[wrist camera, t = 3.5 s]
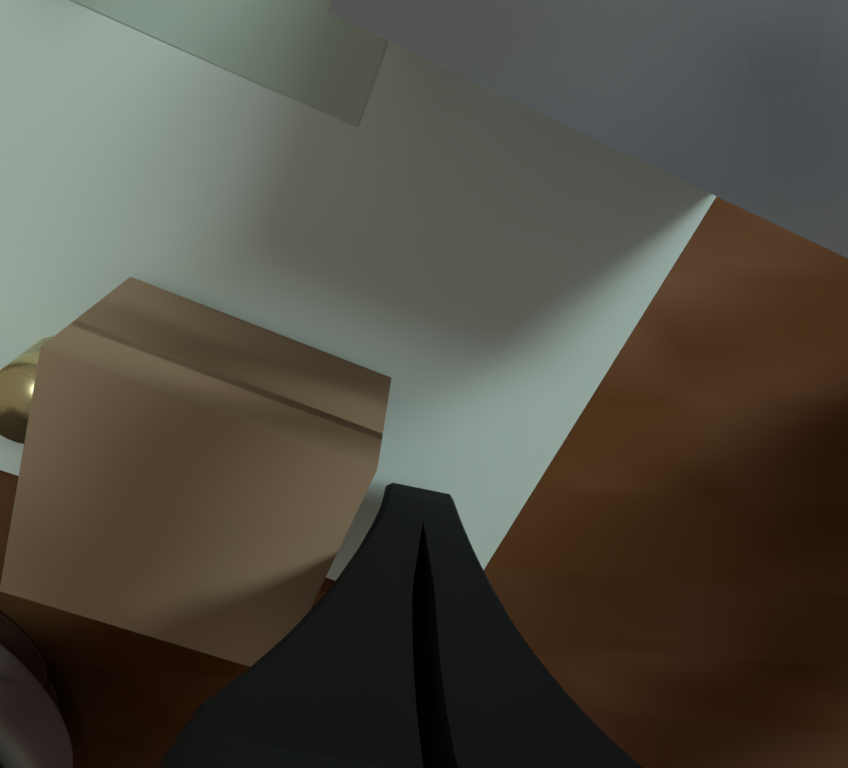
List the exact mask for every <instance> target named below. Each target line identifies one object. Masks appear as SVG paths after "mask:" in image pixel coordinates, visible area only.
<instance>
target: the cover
mask: <svg viewBox="0 0 848 768" xmlns="http://www.w3.org/2000/svg"><path fill="white" fill-rule="evenodd" d="M390 384H391V377H389V376H386V375H383V374H381V373H378V372H376V371H373V370H370V369H368V368H365V367H363V366H360V365H358V364H355V363H352V362H350V361H347V360H345V359H342V358H339V357H337V356H334V355H332V354H329V353H327V352H324V351H321V350H319V349H316V348H314V347H311V346H308V345H306V344H303V343H301V342H298V341H296V340H293V339H290V338H288V337H285V336H283V335H280V334H277V333H275V332H272V331H270V330H267V329H265V328H262V327H259V326H257V325H254V324H252V323H249V322H246V321H244V320H241V319H239V318H236V317H234V316H231V315H228V314H226V313H223V312H221V311H218V310H215V309H213V308H210V307H208V306H205V305H203V304H200V303H197V302H195V301H192V300H190V299H187V298H184V297H182V296H179V295H177V294H174V293H172V292H169V291H166V290H164V289H161V288H159V287H156V286H153V285H151V284H148V283H146V282H143V281H141V280H138V279H135V278H133V277H129V278H128V279H127V280H125V281H124V282H123V283H122V284H120V285H119V286H118V287H116V288H115V289H114V290H113V291H111V292H110V293H109V294H107V295H106V296H105V297H104V298H102V299H101V300H100V301H99V302H97V303H96V304H95V305H93V306H92V307H91V308H90V309H88V310H87V311H86V312H84V313H83V314H82V315H81V316H79V317H78V318H77V319H76V320H74V321H73V322H72V323H70V324H69V325H68V326H67V327H65V328H64V329H63V330H61V331H60V332H59V333H58V334H56V335H55V336H54V337H53V338H51V339H50V340H49V341H47V342H46V343H45V344H44V345H42V346H41V347H40V353H39V359H38V365H37V371H36V377H35V383H34V389H33V395H32V401H31V406H30V412H29V418H28V424H27V430H26V436H25V442H24V448H23V454H22V460H21V466H20V472H19V477H18V483H17V489H16V495H15V501H14V507H13V513H12V519H11V525H10V531H9V537H8V542H7V548H6V554H5V560H4V566H3V572H2V578H1V584H0V591H1V592H4V593H7V594H11V595H14V596H17V597H21V598H24V599H27V600H31V601H34V602H37V603H40V604H44V605H47V606H50V607H54V608H57V609H60V610H64V611H67V612H70V613H74V614H77V615H80V616H83V617H87V618H90V619H93V620H97V621H100V622H103V623H107V624H110V625H113V626H116V627H120V628H123V629H126V630H130V631H133V632H136V633H140V634H143V635H146V636H150V637H153V638H156V639H159V640H163V641H166V642H169V643H173V644H176V645H179V646H183V647H186V648H189V649H193V650H196V651H199V652H202V653H206V654H209V655H212V656H216V657H219V658H222V659H226V660H229V661H232V662H236V663H239V664H242V665H245V666H249V667H251V666H252V665H253V664H255V663H256V662H257V661H258V660H259V659H260V658H261V657H263V656H264V655H265V654H266V653H267V652H268V651H269V650H271V649H272V648H273V647H274V646H275V645H276V644H277V643H279V642H280V641H281V640H282V639H283V638H284V637H285V636H286V635H287V634H288V633H289V632H290V631H291V630H292V629H293V628H294V627H295V626H296V625H297V624H298V623H299V622H300V621H301V620H302V619H303V618H304V617H305V616H306V615H307V613H308V612H309V611H310V609H311V607H312V605H313V603H314V601H315V599H316V597H317V594H318V592H319V590H320V588H321V586H322V584H323V582H324V580H325V578H326V576H327V574H328V571H329V569H330V567H331V565H332V563H333V561H334V559H335V557H336V555H337V553H338V550H339V548H340V546H341V544H342V542H343V540H344V538H345V536H346V534H347V532H348V530H349V527H350V525H351V523H352V521H353V519H354V517H355V515H356V513H357V511H358V509H359V506H360V504H361V502H362V500H363V498H364V496H365V494H366V492H367V490H368V488H369V486H370V483H371V481H372V479H373V477H374V475H375V473H376V471H377V468H378V462H379V455H380V449H381V442H382V436H383V429H384V423H385V417H386V410H387V404H388V397H389V391H390Z"/></svg>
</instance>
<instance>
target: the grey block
mask: <svg viewBox="0 0 848 768" xmlns="http://www.w3.org/2000/svg"><path fill="white" fill-rule="evenodd" d="M327 13H329V14H332V15H334V16H336V17H338V18H340V19H342V20H344V21H346V22H349V23H351V24H353V25H355V26H357V27H359V28H361V29H363V30H365V31H368V32H370V33H372V34H374V35H376V36H378V37H380V38H382V39H385V40H387V41H389V42H391V43H393V44H395V45H397V46H399V47H401V48H404V49H406V50H408V51H410V52H412V53H414V54H416V55H418V56H421V57H423V58H425V59H427V60H429V61H431V62H433V63H435V64H437V65H440V66H442V67H444V68H446V69H448V70H450V71H452V72H454V73H457V74H459V75H461V76H463V77H465V78H467V79H469V80H471V81H473V82H476V83H478V84H480V85H482V86H484V87H486V88H488V89H490V90H493V91H495V92H497V93H499V94H501V95H503V96H505V97H507V98H509V99H512V100H514V101H516V102H518V103H520V104H522V105H524V106H526V107H529V108H531V109H533V110H535V111H537V112H539V113H541V114H543V115H545V116H548V117H550V118H552V119H554V120H556V121H558V122H560V123H562V124H565V125H567V126H569V127H571V128H573V129H575V130H577V131H579V132H581V133H584V134H586V135H588V136H590V137H592V138H594V139H596V140H598V141H601V142H603V143H605V144H607V145H609V146H611V147H613V148H615V149H617V150H620V151H622V152H624V153H626V154H628V155H630V156H632V157H634V158H637V159H639V160H641V161H643V162H645V163H647V164H649V165H651V166H653V167H656V168H658V169H660V170H662V171H664V172H666V173H668V174H670V175H673V176H675V177H677V178H679V179H681V180H683V181H685V182H687V183H689V184H692V185H694V186H696V187H698V188H700V189H702V190H704V191H706V192H709V193H711V194H713V195H715V196H717V197H719V198H721V199H723V200H725V201H728V202H730V203H732V204H734V205H736V206H738V207H740V208H742V209H745V210H747V211H749V212H751V213H753V214H755V215H757V216H759V217H761V218H764V219H766V220H768V221H770V222H772V223H774V224H776V225H778V226H781V227H783V228H785V229H787V230H789V231H791V232H793V233H795V234H797V235H800V236H802V237H804V238H806V239H808V240H810V241H812V242H814V243H817V244H819V245H821V246H823V247H825V248H827V249H829V250H831V251H833V252H836V253H838V254H840V255H842V256H844V257H846V258H848V0H331V3H330V6H329V9H328V12H327Z"/></svg>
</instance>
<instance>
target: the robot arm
mask: <svg viewBox="0 0 848 768" xmlns="http://www.w3.org/2000/svg"><path fill="white" fill-rule="evenodd" d="M159 768H642V767H641V766H640V765H638V764H637V763H636V762H635V761H634V760H633V759H632V758H631V757H630V756H628V755H627V754H626V753H625V752H624V751H623V750H622V749H621V748H620V747H619V746H617V745H616V744H615V743H614V742H613V741H612V740H611V739H610V738H609V737H608V736H607V735H606V734H605V733H604V732H603V731H602V730H601V729H600V728H599V727H598V726H597V725H596V724H595V723H594V722H593V721H592V720H591V719H590V718H589V717H588V716H587V715H586V714H585V713H584V712H583V711H582V710H581V709H580V708H579V707H578V705H577V704H576V703H575V702H574V701H573V700H572V699H571V698H570V697H569V696H568V694H567V693H566V692H565V691H564V690H563V688H562V687H561V686H560V685H559V684H558V682H557V681H556V680H555V679H554V678H553V676H552V675H551V674H550V673H549V672H548V670H547V669H546V668H545V667H544V666H543V664H542V663H541V662H540V661H539V659H538V658H537V657H536V655H535V654H534V653H533V651H532V650H531V649H530V647H529V646H528V644H527V643H526V641H525V640H524V638H523V637H522V636H521V634H520V633H519V631H518V630H517V628H516V627H515V625H514V623H513V622H512V620H511V619H510V617H509V615H508V614H507V612H506V611H505V609H504V607H503V605H502V604H501V602H500V600H499V598H498V597H497V595H496V593H495V591H494V590H493V588H492V586H491V584H490V582H489V580H488V578H487V577H486V574H485V572H484V570H483V568H482V566H481V564H480V562H479V560H478V558H477V556H476V554H475V552H474V550H473V548H472V545H471V543H470V541H469V539H468V536H467V534H466V532H465V529H464V527H463V524H462V522H461V519H460V517H459V514H458V511H457V509H456V506H455V503H454V500H453V498H452V497H451V495H450V494H446V493H441V492H437V491H432V490H427V489H422V488H417V487H412V486H407V485H402V484H397V483H391V484H389V485H387V486H386V487H385V491H384V495H383V499H382V503H381V507H380V509H379V511H378V513H377V516H376V518H375V520H374V522H373V524H372V526H371V527H370V529H369V531H368V533H367V534H366V536H365V538H364V540H363V541H362V543H361V545H360V546H359V548H358V549H357V551H356V553H355V554H354V555H353V557H352V558H351V560H350V561H349V563H348V564H347V565H346V567H345V568H344V570H343V571H342V573H341V574H340V575H339V577H338V578H337V579H336V581H335V582H334V583H333V584H332V586H331V587H330V588H329V589H328V591H327V592H326V593H325V594H324V595H323V597H322V598H321V599H320V600H319V601H318V602H317V604H316V605H315V606H314V607H313V608H312V609H311V610H310V611H309V612H308V613H307V615H306V616H305V617H304V618H303V619H302V620H301V621H300V622H299V623H298V624H297V625H296V626H295V627H294V628H293V629H292V630H291V631H290V632H289V633H288V634H287V635H286V636H285V637H284V638H283V639H282V640H281V641H280V642H279V643H277V644H276V645H275V646H274V647H273V648H272V649H271V650H269V651H268V652H267V653H266V654H265V655H264V656H263V657H261V658H260V659H259V660H258V661H257V662H256V663H255V664H253V665H252V666H251V667H250V668H249V669H247V670H246V671H245V672H244V673H242V674H241V675H240V676H238V677H237V678H236V679H234V680H233V681H232V682H230V683H229V684H228V685H226V686H225V687H223V688H222V689H221V690H219V691H218V692H217V693H215V694H214V695H213V696H211V697H210V698H208V699H207V700H206V701H204V702H203V703H202V704H201V705H200V707H199V708H198V709H197V711H196V712H195V713H194V715H193V716H192V718H191V719H190V720H189V722H188V723H187V724H186V726H185V727H184V729H183V730H182V732H181V733H180V734H179V736H178V737H177V739H176V740H175V742H174V743H173V745H172V746H171V748H170V750H169V751H168V753H167V755H166V756H165V758H164V760H163V761H162V763H161V765H160V767H159Z"/></svg>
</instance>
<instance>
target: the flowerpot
mask: <svg viewBox="0 0 848 768" xmlns="http://www.w3.org/2000/svg"><path fill="white" fill-rule="evenodd" d="M46 677H47V665H46V662H45V660H44V658H43V656H42V655H41V653H40V652H39V650H38V649H37V648H36V646H35V645H34V644H33V643H32V642H31V640H30V639H29V638H28V637H27V636H26V635H25V634H24V633H23V632H22V631H21V630H20V629H19V628H18V627H17V626H16V625H15V624H14V623H13V622H12V621H11V620H10V619H8V618H7V617H6V616H5V615H3V614H2V613H1V612H0V768H73V752H72V746H71V741H70V738H69V734H68V731H67V728H66V726H65V723H64V721H63V719H62V716H61V714H60V710H59V705H58V699H57V695H56V691H55V688H54V685H53V684H52V682H51V681H50V680H49V679H48V678H46Z"/></svg>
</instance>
